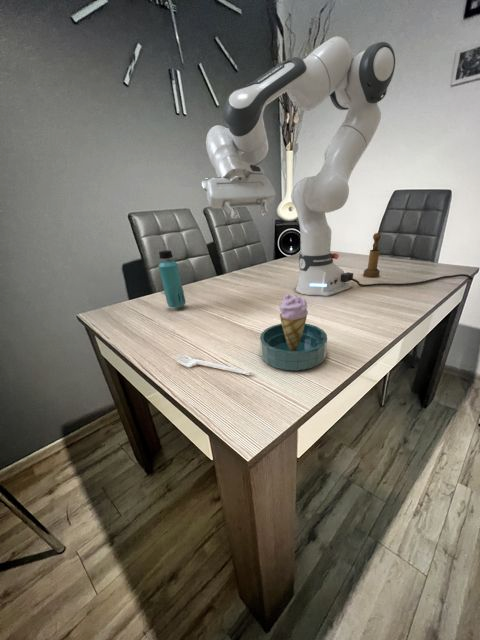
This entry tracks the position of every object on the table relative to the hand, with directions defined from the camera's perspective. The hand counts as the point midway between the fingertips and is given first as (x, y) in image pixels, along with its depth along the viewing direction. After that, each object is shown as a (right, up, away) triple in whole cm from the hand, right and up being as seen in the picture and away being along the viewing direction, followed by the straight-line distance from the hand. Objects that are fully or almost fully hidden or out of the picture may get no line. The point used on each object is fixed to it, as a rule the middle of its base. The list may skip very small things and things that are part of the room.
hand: (250, 215), depth 77 cm
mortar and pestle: (+53, -5, +46) cm, 70 cm away
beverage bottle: (-28, -23, +22) cm, 42 cm away
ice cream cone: (+11, -39, -11) cm, 42 cm away
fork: (-9, -42, -14) cm, 45 cm away
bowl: (+11, -39, -10) cm, 42 cm away
